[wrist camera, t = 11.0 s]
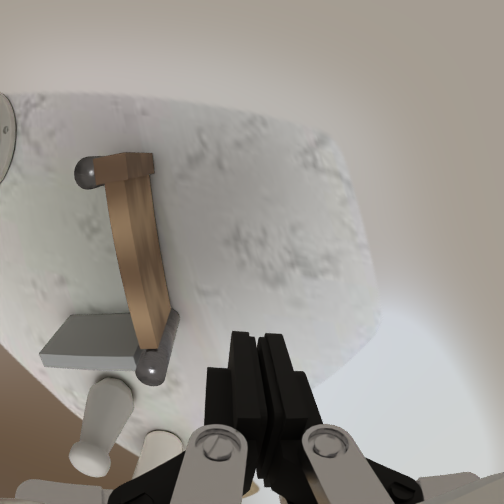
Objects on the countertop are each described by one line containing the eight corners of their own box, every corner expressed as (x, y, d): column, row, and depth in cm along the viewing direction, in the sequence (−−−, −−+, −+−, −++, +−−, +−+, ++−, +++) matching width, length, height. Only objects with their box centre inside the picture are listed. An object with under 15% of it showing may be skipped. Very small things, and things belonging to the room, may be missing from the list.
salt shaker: (87, 386, 34) (52, 460, 21) (107, 363, 33) (70, 444, 20) (123, 411, 35) (99, 489, 23) (146, 392, 34) (124, 476, 22)
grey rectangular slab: (74, 326, 31) (44, 366, 23) (70, 314, 31) (38, 353, 23) (154, 324, 32) (137, 370, 24) (152, 312, 31) (133, 356, 23)
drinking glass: (145, 419, 36) (124, 512, 21) (193, 434, 37) (188, 528, 23) (136, 444, 37) (118, 528, 23) (180, 458, 39) (173, 542, 24)
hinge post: (159, 328, 32) (139, 386, 23) (155, 307, 31) (131, 362, 22) (181, 327, 32) (167, 386, 23) (177, 306, 31) (161, 362, 22)
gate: (175, 307, 30) (162, 351, 23) (152, 309, 30) (133, 352, 23) (152, 153, 26) (125, 152, 19) (126, 157, 26) (92, 158, 18)
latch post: (108, 183, 27) (76, 191, 20) (106, 158, 26) (72, 159, 20) (131, 179, 27) (104, 187, 20) (129, 153, 26) (100, 154, 20)
